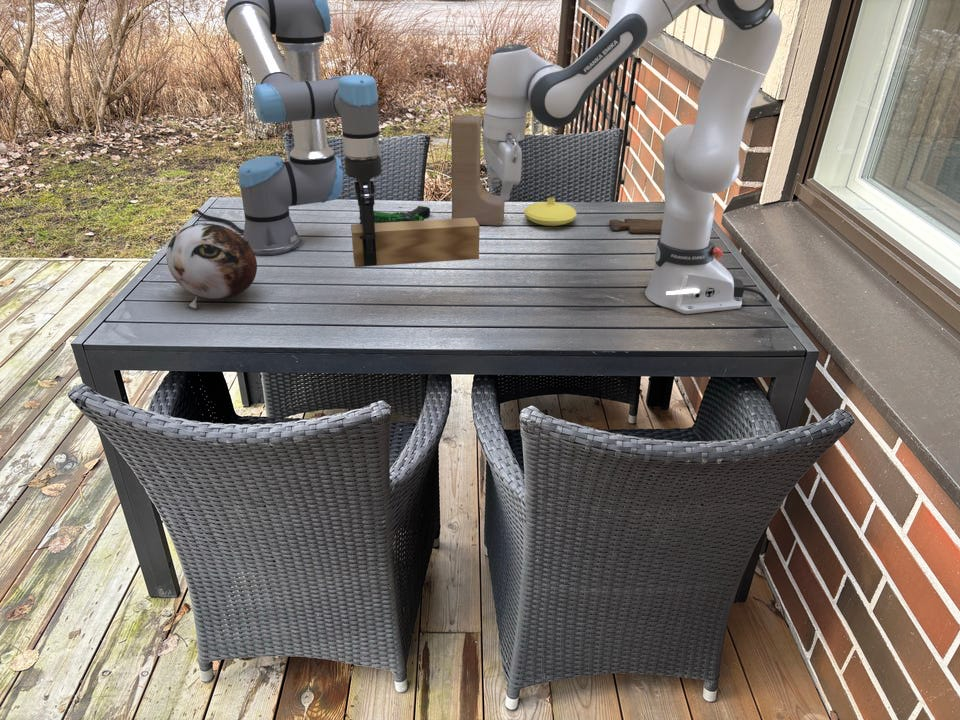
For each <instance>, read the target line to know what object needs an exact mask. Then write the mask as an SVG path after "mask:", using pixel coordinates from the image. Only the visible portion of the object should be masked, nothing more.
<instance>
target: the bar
mask: <svg viewBox="0 0 960 720" xmlns="http://www.w3.org/2000/svg"><path fill="white" fill-rule="evenodd" d="M374 225H375V234H376V238H375V243H376V259H377V265H375V266H374V267H380V266H395V265H408V264H409V265H412V264H424V263H425V264H426V263H440V262H454V261H455V262H457V261H471V260H479V259H480V225H479V224H478V222H477V221H476V219H475V218H458V219H452V218H445V219H443V218H442V219H424V220H423V221H405V222H387V223H380V222H375V223H374ZM350 233H351V243H352V256H353V257H352V258H353V265H354V268H365V267H368V266H364V254H363V240H362V239H360V236H362V235H363V229H362V224H360V223H355V224H354V223H353V224H350Z"/></svg>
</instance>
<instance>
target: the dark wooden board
mask: <svg viewBox="0 0 960 720" xmlns="http://www.w3.org/2000/svg"><path fill="white" fill-rule="evenodd" d="M608 222H609V226H610V229H611V231H614V232H615V231H616V232H618V231H619V232H620V231H624V230H628V232H629V233H630V234H642V233H643V234H644V233H654V234H655V233H658V234H659V233H660V234H661V228H662V222H663V218H662V219H647V218H624V220H620V219H610V220H609V221H608Z"/></svg>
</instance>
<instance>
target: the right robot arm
mask: <svg viewBox="0 0 960 720" xmlns="http://www.w3.org/2000/svg"><path fill="white" fill-rule="evenodd" d="M774 5H775V0H613V3H612V6H611V11H610V18H609V21H608V23H607V24H608V25H607V27H606V28H605V30H604V32H603V33H602V34H601V35H600V37H599V38H598V39H597V40H596V41H595V42H594V43H592V44H591V46H589V48H587V49H586V50H585V51H584V52H583V53H582V54H581V55H579V57H577V58H576V59H575V61H574V62H572V63H571V64H570V65H568V66H567V67H564V68H563V67H562V66H560V65H558V64H555V63H553V62H551V61H548V60H546V59H545V58H543V57H541V56H540V55H538V54H537V53H535V52H534V51H533V50H532V49H530V47H529V46H528V45H525V44H516V43H515V44H508V45H507V44H506V45H503V46H499V47H498V48H496V49H495V50H494V51H493V52H492V53H491V55H490V57H489V61H488V64H487V72H486V81H485V94H486V105H485V107H484V114H483V116H484V117H482V118H481V130H482V131H483V132H482V135H483V157H484V161H485V162H486V163H487V164H488V166H489V174H490V185H491V187H492V188H499V187H500V183H501V190H500V191H499V196H500V198H501V199H502V200H503V201H505V202H507V201H510V198H511V192H512V189H513V186H517V185H519V184H520V183H521V180H522V167H523V166H522V165H523V151H522V147H521V146H520V145H519V142H521V141H523V140H524V139H525V137H526V128H527V127H526V126H527V115H528V112H530V111H531V113H532V115H533V116H534V118H535V119H536V120H537V121H538V122H539V123H540V124H542V125H543V126H546V127H548V128H561V127H564V126H567V125H569V124H571V123H572V122H573V121H574V120H575V119H577V117H578V116H579V115H580V113H581V111H582V109H583V107H584V105H585V103H586V101H587V100H588V98H589V96H590V95H591V94H592V93H593V91H595V90H596V88H597V87H598V86H600V85H601V84H602V83H603V82H604V81H605V80H606V79H607V78H609V76H610V75H611V74H613V72H615V71H616V70H617V69H618V68H619V67H620V66H621V65H622V64H623V63H624V62H625V61H626V60H627V59H628V58H630V57H631V56H632V54H634V53H635V52H636V51H638V50H639V49H640V48H641V47H642V46H644V45H645V44H646V43H648V42H649V41H650V40H652V39H653V38H655V37H656V36H657V35H658V34H660V33H661V32H662V31H663V30H665V29H666V28H667V27H668V26H670V25H671V24H672V23H673V22H674V21H675V20H676V19H677V18H679V17H680V16H681V15H682V14H683V13H684V12H685V11H688V10H689V9H691V8H692V7H697V8H698V10H700V11H701V12H703V13H704V14H706V15H709V16H712V17H714V18H717V19H719V20H722V22H723V29H724V30H723V35H722V39H721V42H720V45H719V46H718V48H717V51H716V52H715V55H714V58H713V60H712V62H711V64H710V66H709V68H708V71H707V73H706V76H705V78H704V80H703V82H702V84H701V87H700V89H699V92H698V95H697V110H696V117H695V122H694V124H687V123H685V124H679V125H676V126H674V127H673V128H671V129H670V130H669V131H668V132H667V133H666V135H665V136H664V138H663V140H662V143H661V144H662V145H661V153H662V157H663V158H662V159H663V180H664V181H663V187H664V188H663V189H664V205H663V206H664V207H663V208H664V209H663V216H662V219H663V222H662V228H661V233H660V236H659V237H658V239H657V242H656V247H655V252H654V267H653V271H652V274H651V277H650V279H649V282H648V285H647V286H646V288H645V290H644V295H645V298H647V300H649V301H650V302H651V303H654V304H655V305H658V306H659V307H663V308H667V309H671V310H674V311H675V312H678V313H679V314H683V315H693V314H701V313H702V314H703V313H710V312H719V311H720V312H722V311H730V310H737V309H741V308H742V305H743V299H742V298H744V294H745V293H744V292H745V291H746V292H752V293H755V294H756V295H759V297H760V298H762V300H763V301H764V302H767V301H768V298H767V297H766V296H765V294H764V293H762V292H761V291H760V290H758V289H755V288H751V287H747V286H745V285H744V283H743V281H742V279H738V278H734V277H733V275H732V274H731V272H730V270H729V269H727V268H726V267H725V266H724V265H723V264H722V263H721V262H720V261H718V260H717V259H721V258H722V257H723V255H724V252H723V250H722V249H721V248H720V247H717V246H716V245H715V244H714V243H713V242H711V241H710V240H711V236H712V229H713V224H714V219H715V214H716V213H715V212H716V211H715V210H716V209H715V204H714V199H713V194H719V193H722V192H724V191H726V190H728V189H729V188H730V187H732V185H733V184H734V183H735V182H736V180H737V179H738V176H739V174H740V169H741V163H740V149H741V145H742V141H743V136H744V131H745V128H746V123H747V120H748V116H749V114H750V112H751V110H752V106H753V105H754V102H755V100H756V98H757V96H758V93H759V91H760V89H761V87H762V85H763V83H764V80H765V78H766V76H767V74H768V72H769V70H770V68H771V65H772V62H773V60H774V58H775V55H776V52H777V50H778V46H779V42H780V39H781V36H782V31H783V23H782V20H781V18H780V17H779V15H777V13H775V12H774V8H775V6H774Z"/></svg>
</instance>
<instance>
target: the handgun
mask: <svg viewBox="0 0 960 720" xmlns="http://www.w3.org/2000/svg"><path fill="white" fill-rule="evenodd" d="M430 214H431V209H430V207H428V206H424V205H423V206H422V205H417V206H416V208H414V209H412V210H411V211H407V212H403V211H400V212H399V211H397V212H392V213H391V212H382V211H377V210H374V221H375V223H387V222H405V221H423V220H425V218H427V217H429V216H430Z"/></svg>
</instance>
